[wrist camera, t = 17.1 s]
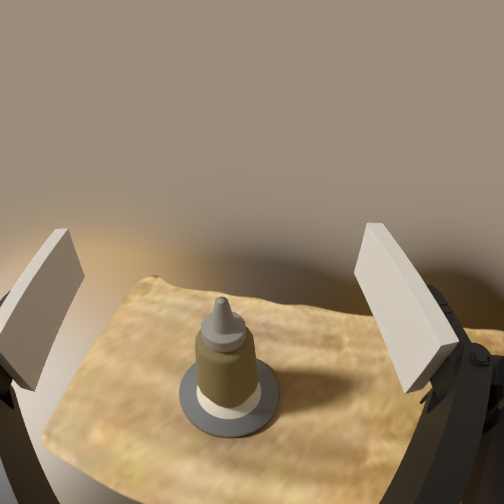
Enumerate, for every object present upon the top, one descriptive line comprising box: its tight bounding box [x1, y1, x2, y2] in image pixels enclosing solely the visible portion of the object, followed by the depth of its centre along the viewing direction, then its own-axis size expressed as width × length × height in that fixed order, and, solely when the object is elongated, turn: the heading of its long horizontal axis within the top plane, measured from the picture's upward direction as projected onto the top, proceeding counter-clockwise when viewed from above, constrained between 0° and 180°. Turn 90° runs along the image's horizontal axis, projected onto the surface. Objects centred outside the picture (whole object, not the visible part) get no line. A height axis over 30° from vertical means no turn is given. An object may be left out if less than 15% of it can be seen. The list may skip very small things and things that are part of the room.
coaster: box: [179, 358, 279, 438], centre depth 39 cm, size 14×14×1 cm
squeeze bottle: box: [195, 297, 259, 408], centre depth 33 cm, size 8×8×18 cm
